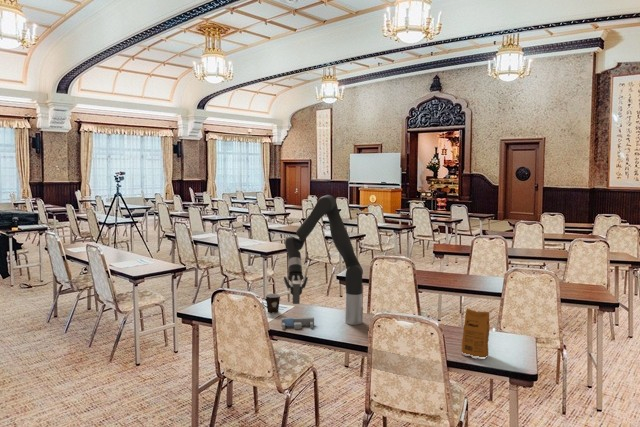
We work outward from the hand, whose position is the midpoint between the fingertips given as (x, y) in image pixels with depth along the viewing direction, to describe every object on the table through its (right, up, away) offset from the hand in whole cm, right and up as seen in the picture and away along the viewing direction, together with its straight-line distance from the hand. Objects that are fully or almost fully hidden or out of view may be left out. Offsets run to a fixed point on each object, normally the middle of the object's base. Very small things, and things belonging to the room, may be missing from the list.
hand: (296, 294), depth 262 cm
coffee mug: (-17, -16, +33) cm, 41 cm away
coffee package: (+86, -24, -33) cm, 95 cm away
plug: (0, -5, +3) cm, 6 cm away
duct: (+1, -19, +5) cm, 20 cm away
